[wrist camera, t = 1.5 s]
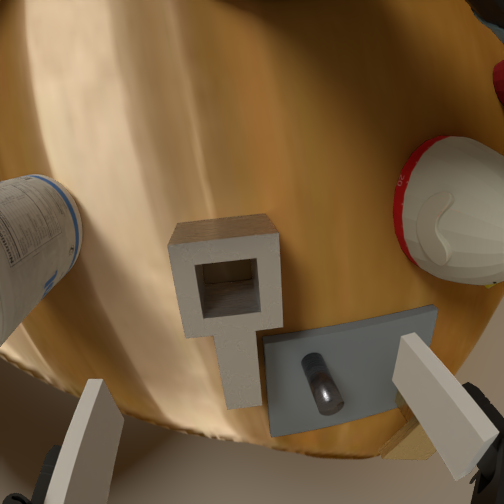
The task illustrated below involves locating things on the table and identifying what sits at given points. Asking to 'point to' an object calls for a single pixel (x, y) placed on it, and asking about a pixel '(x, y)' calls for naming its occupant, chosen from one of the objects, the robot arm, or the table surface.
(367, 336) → the board
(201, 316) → the link
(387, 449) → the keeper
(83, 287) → the table surface
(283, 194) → the table surface
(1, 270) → the supplement tub
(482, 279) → the kitchen timer
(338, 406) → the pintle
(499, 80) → the plastic cup
